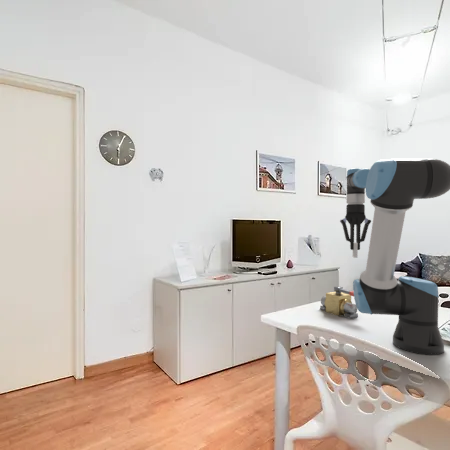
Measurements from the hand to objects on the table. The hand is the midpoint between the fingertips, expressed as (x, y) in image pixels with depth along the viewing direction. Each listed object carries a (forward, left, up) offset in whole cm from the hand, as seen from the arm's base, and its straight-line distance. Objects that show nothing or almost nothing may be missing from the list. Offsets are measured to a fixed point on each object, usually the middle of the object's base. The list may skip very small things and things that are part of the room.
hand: (355, 257), depth 145 cm
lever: (+1, +3, -17) cm, 17 cm away
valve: (+4, +8, -27) cm, 29 cm away
